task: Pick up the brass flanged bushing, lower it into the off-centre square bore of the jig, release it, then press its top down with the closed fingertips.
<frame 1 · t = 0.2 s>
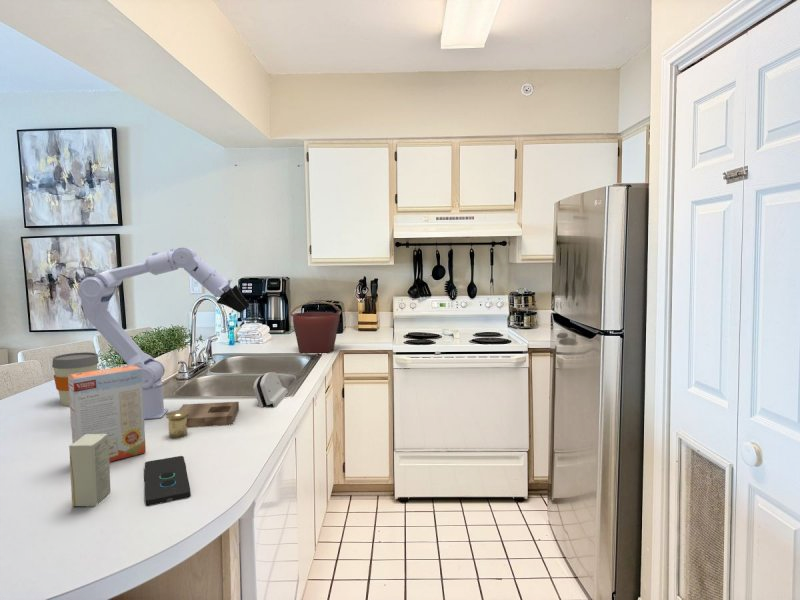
hand: (245, 309, 150), 31 cm above the worktop, tool tilted 45°, fingers open, 7 cm apart
skincare box: (92, 500, 97), on the worktop
bucket: (316, 352, 247), on the worktop
bushing: (178, 435, 132), on the worktop
grey piece: (270, 400, 164), on the worktop
cracker box: (110, 459, 117), on the worktop
jig: (207, 418, 145), on the worktop
reusable coffee cup: (77, 402, 161), on the worktop
smart home device: (166, 483, 105), on the worktop
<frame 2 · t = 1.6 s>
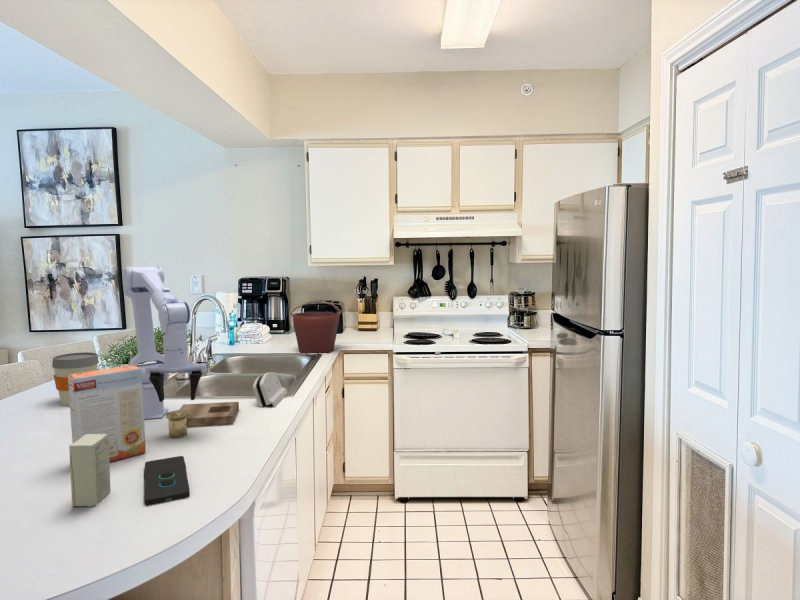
hand: (177, 400, 131), 9 cm above the worktop, tool pointing down, fingers open, 7 cm apart
nothing on the worktop moved.
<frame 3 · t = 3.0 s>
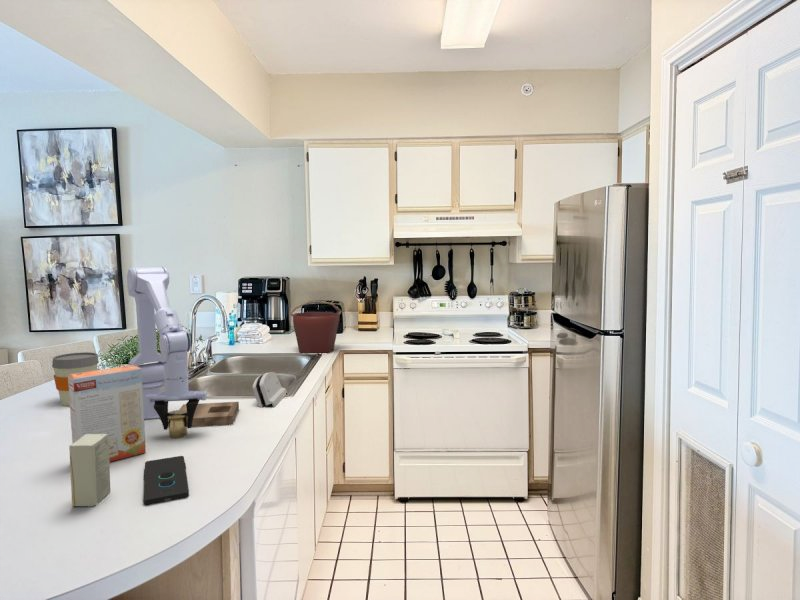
hand: (178, 427, 132), 2 cm above the worktop, tool pointing down, fingers closed on bushing, 5 cm apart
bushing: (178, 435, 132), on the worktop, touching gripper
everything else where it was.
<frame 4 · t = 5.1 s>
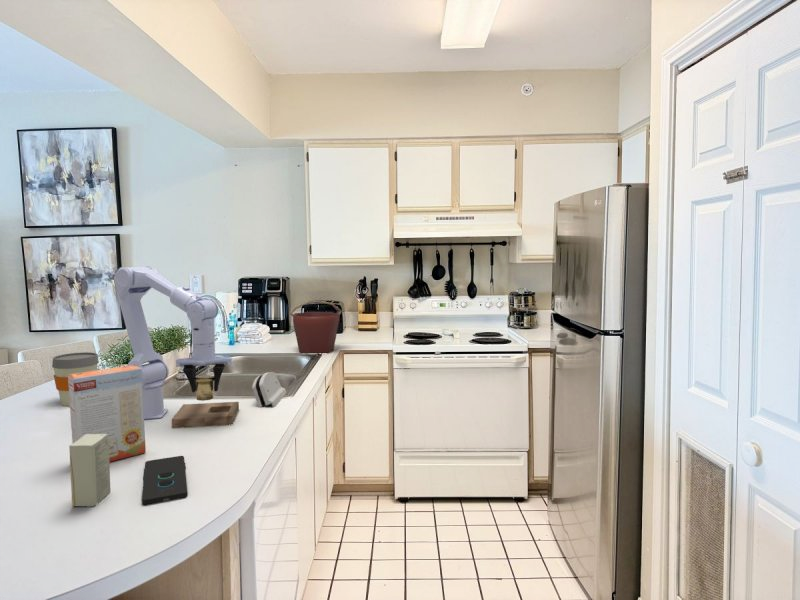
hand: (205, 390, 140), 9 cm above the worktop, tool pointing down, fingers closed on bushing, 5 cm apart
bushing: (204, 398, 140), point 7 cm above the worktop, touching gripper
everything else where it was.
when the fingers open (3 cm above the worktop, at t = 7.6 s): bushing drops 1 cm, resting in jig.
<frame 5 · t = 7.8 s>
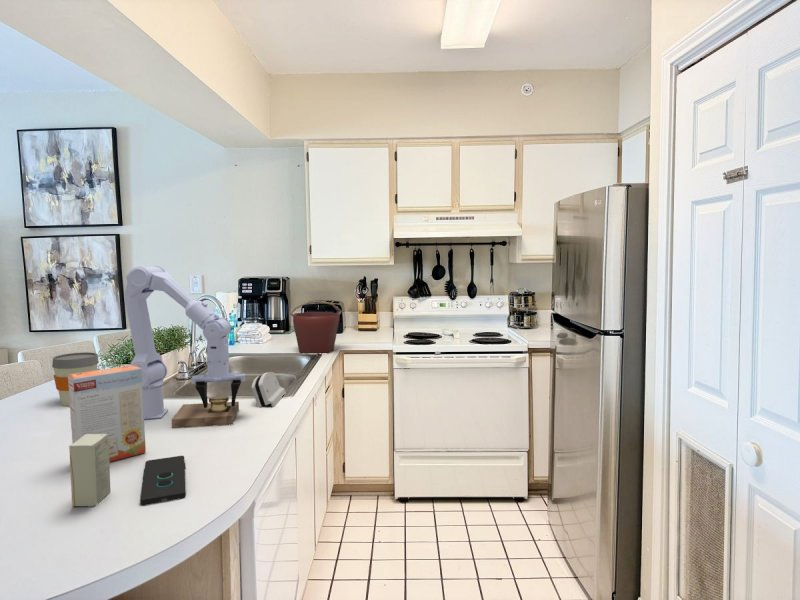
hand: (219, 406, 146), 3 cm above the worktop, tool pointing down, fingers open, 7 cm apart
bushing: (219, 418, 146), resting in jig
everything else where it was.
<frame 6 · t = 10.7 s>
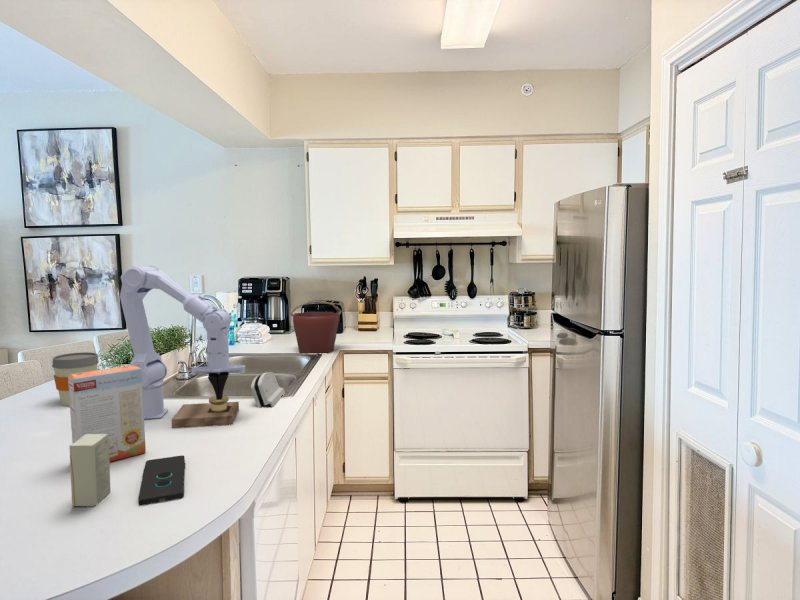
hand: (219, 398, 146), 6 cm above the worktop, tool pointing down, fingers closed, pressing on bushing
bushing: (219, 418, 146), resting in jig, touching gripper
everything else where it was.
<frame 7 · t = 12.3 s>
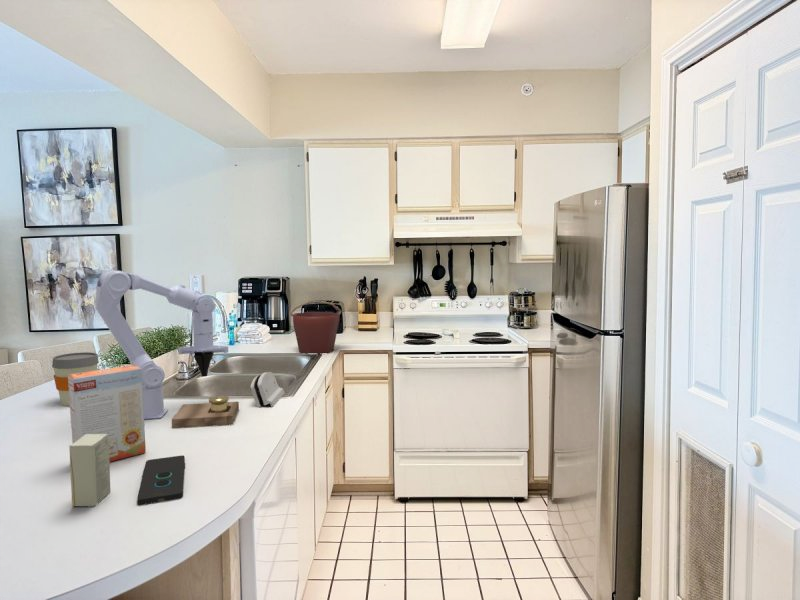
hand: (204, 375, 158), 9 cm above the worktop, tool pointing down, fingers closed
bushing: (219, 418, 146), resting in jig
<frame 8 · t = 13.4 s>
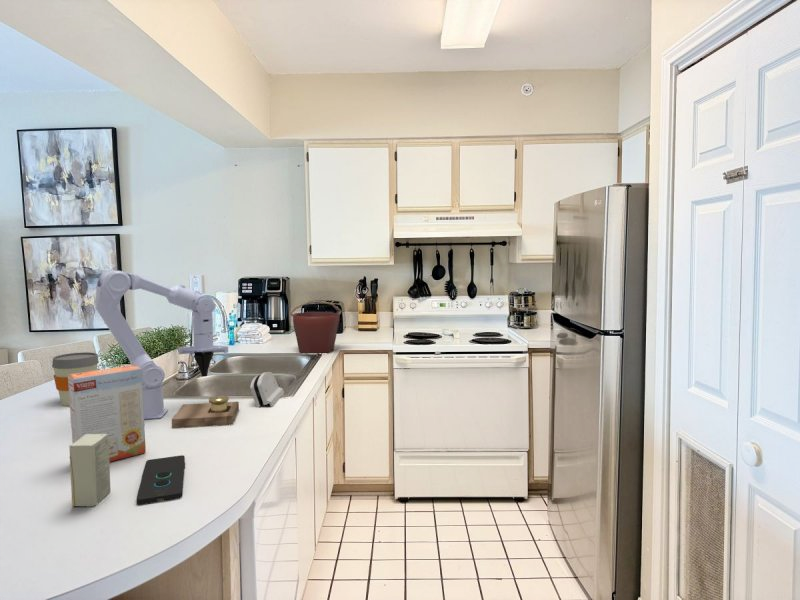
hand: (204, 375, 158), 9 cm above the worktop, tool pointing down, fingers closed
at the end: bushing 0.3 cm from the target spot on the jig, point 0.0 cm above the jig's base; bushing tilted 0°; the gripper is holding nothing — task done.
